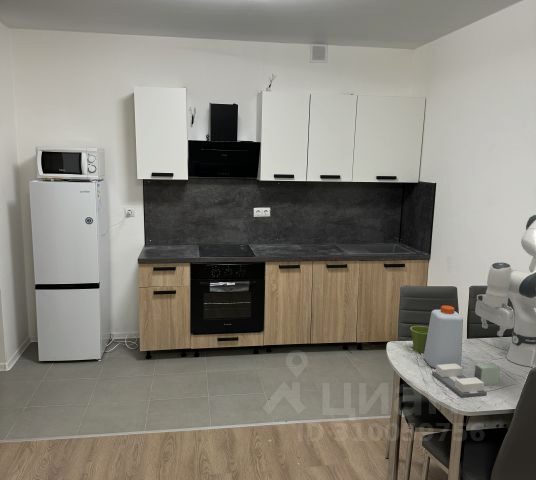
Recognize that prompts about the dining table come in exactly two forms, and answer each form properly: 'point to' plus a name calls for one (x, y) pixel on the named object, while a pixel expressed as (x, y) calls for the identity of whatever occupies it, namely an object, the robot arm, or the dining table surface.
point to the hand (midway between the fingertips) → (492, 331)
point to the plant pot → (419, 338)
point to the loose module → (487, 373)
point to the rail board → (452, 386)
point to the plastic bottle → (444, 337)
